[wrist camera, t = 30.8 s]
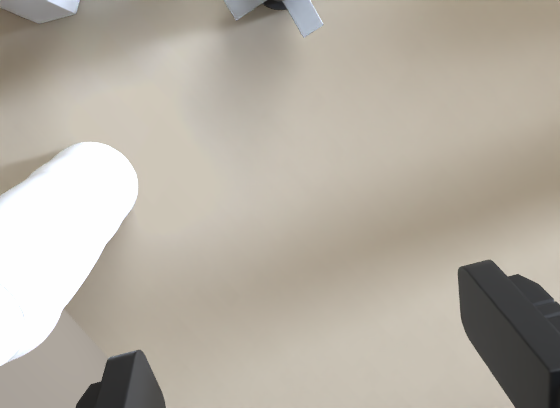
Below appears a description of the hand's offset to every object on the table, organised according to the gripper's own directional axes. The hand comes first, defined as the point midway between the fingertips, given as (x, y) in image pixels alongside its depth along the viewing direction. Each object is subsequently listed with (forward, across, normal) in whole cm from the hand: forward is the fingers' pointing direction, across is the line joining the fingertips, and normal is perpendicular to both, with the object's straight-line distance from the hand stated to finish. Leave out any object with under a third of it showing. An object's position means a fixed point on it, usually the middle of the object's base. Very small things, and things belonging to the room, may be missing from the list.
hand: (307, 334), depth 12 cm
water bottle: (+30, -14, -5) cm, 33 cm away
